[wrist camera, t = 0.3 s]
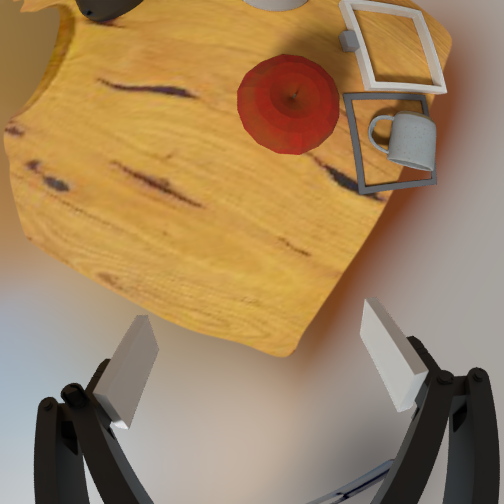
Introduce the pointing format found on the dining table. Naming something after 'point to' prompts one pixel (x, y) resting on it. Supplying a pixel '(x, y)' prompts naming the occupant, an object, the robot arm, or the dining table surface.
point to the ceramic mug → (409, 139)
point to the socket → (355, 43)
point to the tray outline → (356, 146)
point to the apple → (288, 104)
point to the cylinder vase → (276, 4)
